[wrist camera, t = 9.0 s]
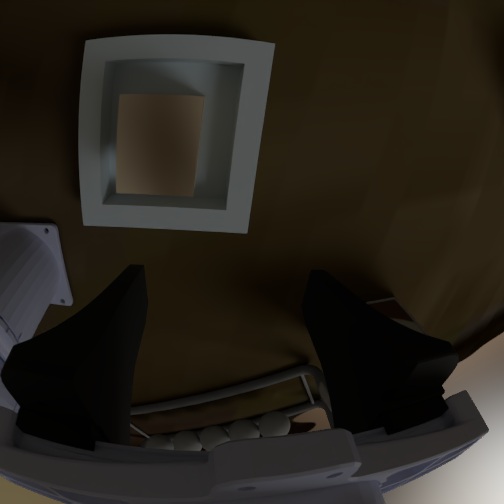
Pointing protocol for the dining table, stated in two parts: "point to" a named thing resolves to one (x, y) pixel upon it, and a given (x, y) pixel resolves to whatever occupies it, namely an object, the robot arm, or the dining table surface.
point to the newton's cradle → (240, 429)
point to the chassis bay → (212, 134)
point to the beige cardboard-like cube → (158, 143)
